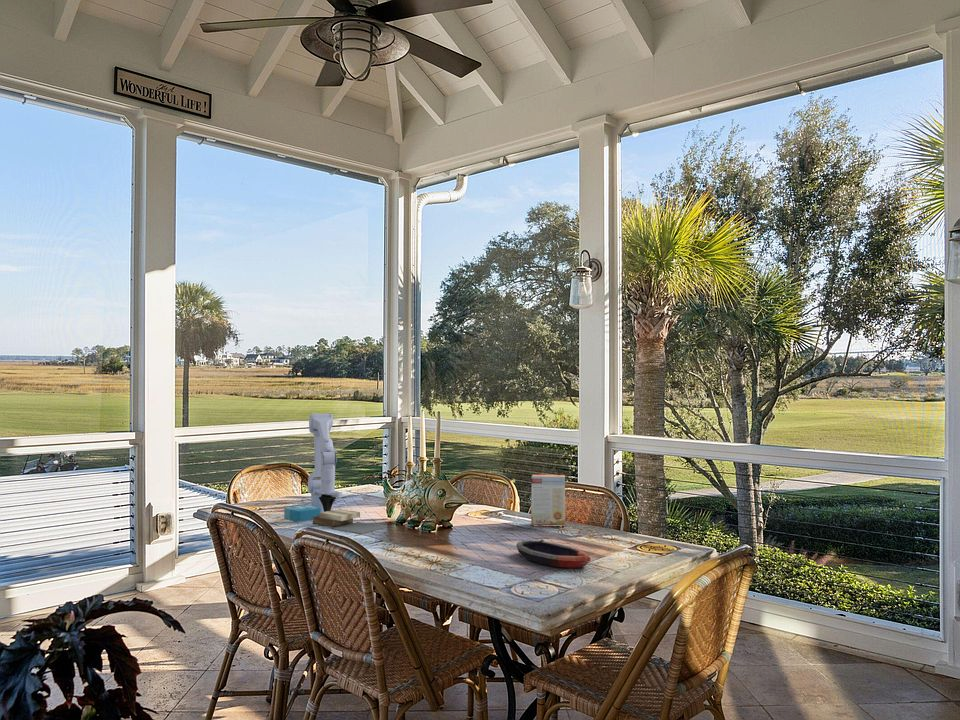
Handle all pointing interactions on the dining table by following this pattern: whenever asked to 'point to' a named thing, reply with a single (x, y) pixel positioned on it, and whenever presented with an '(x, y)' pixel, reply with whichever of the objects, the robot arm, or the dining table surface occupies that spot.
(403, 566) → the dining table surface
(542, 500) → the cracker box
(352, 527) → the rubber mat
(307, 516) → the data package
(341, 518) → the cover plate
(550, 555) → the dish
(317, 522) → the walnut box
